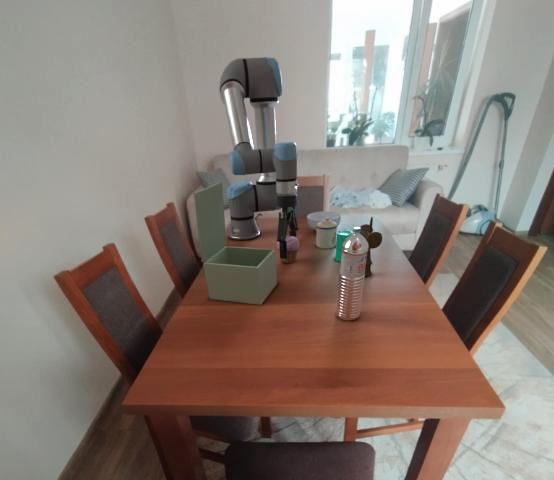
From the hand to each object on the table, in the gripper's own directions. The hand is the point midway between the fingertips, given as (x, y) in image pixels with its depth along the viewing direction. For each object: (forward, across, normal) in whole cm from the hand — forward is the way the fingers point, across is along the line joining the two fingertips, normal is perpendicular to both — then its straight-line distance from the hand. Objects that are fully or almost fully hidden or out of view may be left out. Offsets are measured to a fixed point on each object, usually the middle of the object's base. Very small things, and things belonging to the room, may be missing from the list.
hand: (288, 252), depth 132 cm
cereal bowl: (+3, +45, -5) cm, 45 cm away
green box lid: (-19, -30, +15) cm, 39 cm away
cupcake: (+4, 0, 0) cm, 4 cm away
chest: (+4, -30, +7) cm, 31 cm away
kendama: (+4, -7, -31) cm, 32 cm away
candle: (+4, +7, -21) cm, 22 cm away
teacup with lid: (+4, +23, -11) cm, 26 cm away
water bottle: (+4, -39, -30) cm, 49 cm away
